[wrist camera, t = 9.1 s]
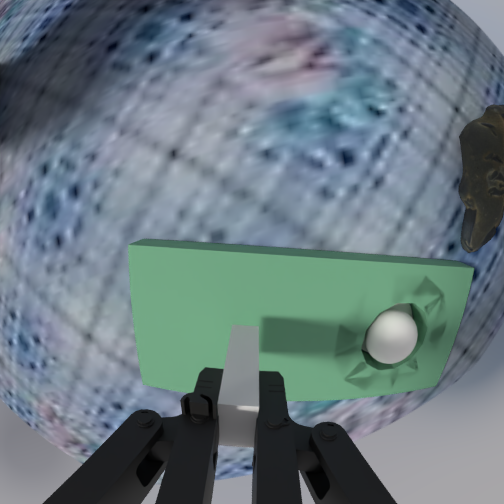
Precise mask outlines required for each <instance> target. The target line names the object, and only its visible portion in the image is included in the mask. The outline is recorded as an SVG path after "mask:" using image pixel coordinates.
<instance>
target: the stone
mask: <svg viewBox="0 0 504 504" xmlns="http://www.w3.org/2000/svg"><path fill="white" fill-rule="evenodd" d="M459 138H460V143H461V152H462V162H463V175H462V178H461V182H460V184H459V195H460V198H461V199H462V201H463V203H464V204H465V206H466V210H465V214H464V220H463V224H462V231H461V244H462V247H463V249H464V250H466V251H467V252H468V253H471V252H475V251H477V250H478V249H480V248H481V247H482V246H483V245H485V244H486V243H487V242H488V241H489V240H491V238H492V237H493V236H494V235H495V233H496V230H495V229H496V227H497V226H499V224H500V222H501V220H502V218H503V213H504V105H490V106H488V107H487V108H486V111H485V113H484V114H483V116H482V117H481V118H479V119H476V120H473V121H472V122H470V123H469V124H467V125H466V127H465V128H464V130H463V131H462V133H461V134H460V136H459Z"/></svg>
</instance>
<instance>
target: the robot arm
mask: <svg viewBox="0 0 504 504" xmlns="http://www.w3.org/2000/svg"><path fill="white" fill-rule="evenodd" d="M180 401H181V408H182V414H181V415H179V416H175V417H164V418H161V417H160V415H159V414H158V413H156V412H155V411H152V410H148V409H145V410H138V411H135V412H134V413H133V414H131V415H130V416H129V417H128V418H127V419H126V420H125V422H124V423H123V424H122V425H121V426H120V427H119V428H118V429H117V430H116V431H115V432H114V433H113V434H112V435H111V436H110V437H109V438H108V439H107V440H106V441H105V442H104V443H103V444H102V445H101V446H100V447H99V448H98V449H97V450H96V451H95V452H94V453H93V454H92V455H91V457H90V458H89V459H88V460H87V461H86V462H85V463H84V464H83V465H82V466H81V467H80V468H79V469H78V470H77V471H76V472H75V473H74V474H73V475H72V476H71V477H70V478H68V479H67V480H66V481H65V482H64V483H63V484H62V485H61V486H60V487H59V488H58V489H57V490H56V491H55V492H54V493H53V494H52V495H51V496H50V497H49V498H48V499H47V500H46V501H45V502H44V503H43V504H141V503H142V501H143V500H144V498H145V497H146V496H147V494H148V493H149V491H150V490H151V489H152V487H153V486H154V484H155V483H156V482H157V480H158V479H159V477H160V476H161V474H162V473H163V472H164V470H165V473H164V476H163V479H162V483H161V486H160V489H159V493H158V497H157V500H156V503H155V504H211V501H212V493H213V486H214V479H215V472H216V465H217V458H218V443H219V445H224V446H236V447H253V448H254V454H253V462H252V466H253V479H252V504H302V497H301V488H300V480H299V471H298V470H300V473H301V475H302V477H303V479H304V481H305V483H306V485H307V487H308V489H309V492H310V494H311V496H312V498H313V500H314V502H315V504H397V503H396V502H395V500H394V499H393V498H392V496H391V495H390V493H389V492H388V491H387V489H386V488H385V487H384V485H383V484H382V483H381V481H380V480H379V478H378V477H377V475H376V474H375V473H374V471H373V470H372V468H371V467H370V466H369V464H368V463H367V461H366V460H365V459H364V457H363V456H362V455H361V453H360V451H359V450H358V448H357V447H356V446H355V444H354V443H353V441H352V440H351V438H350V437H349V436H348V434H347V433H346V431H345V430H344V429H343V428H342V427H341V426H340V425H338V424H336V423H333V422H322V423H319V424H317V425H316V426H315V427H314V428H311V427H306V426H302V425H299V424H297V423H295V422H294V421H293V420H292V419H291V418H290V417H289V414H288V408H287V400H286V392H285V385H284V378H283V376H282V375H281V374H280V373H279V371H259V326H245V325H232V329H231V334H230V339H229V345H228V350H227V355H226V361H225V366H224V369H219V368H209V367H205V368H204V369H203V370H202V371H201V372H200V373H199V376H198V379H197V382H196V385H195V388H194V392H191V393H188V394H186V395H184V396H183V397H182V399H181V400H180Z"/></svg>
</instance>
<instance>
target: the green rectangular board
mask: <svg viewBox="0 0 504 504" xmlns="http://www.w3.org/2000/svg"><path fill="white" fill-rule="evenodd" d="M128 253H129V276H130V291H131V303H132V313H133V323H134V331H135V339H136V346H137V353H138V359H139V365H140V371H141V376H142V382H143V385H148V386H152V387H157V388H162V389H168V390H173V391H179V392H185V393H191V392H194V388H195V385H196V382H197V379H198V376H199V373H200V372H201V371H202V370H203V369H204V368H205V367H209V368H219V369H224V366H225V361H226V355H227V350H228V345H229V339H230V334H231V329H232V325H245V326H259V371H279V373H280V374H281V375H282V376H283V378H284V385H285V392H286V400H287V401H324V400H342V399H355V398H365V397H374V396H382V395H390V394H397V393H403V392H409V391H414V390H420V389H425V388H429V387H434V386H436V385H437V383H438V381H439V378H440V376H441V374H442V371H443V369H444V367H445V364H446V362H447V359H448V357H449V354H450V352H451V349H452V346H453V344H454V341H455V338H456V335H457V332H458V329H459V326H460V323H461V320H462V316H463V313H464V309H465V306H466V302H467V298H468V294H469V290H470V286H471V282H472V277H473V272H474V268H473V267H470V266H468V265H466V264H463V263H461V262H458V261H451V260H439V259H427V258H414V257H401V256H388V255H375V254H362V253H348V252H335V251H321V250H307V249H293V248H279V247H264V246H249V245H234V244H219V243H204V242H188V241H172V240H156V239H142V240H139V241H137V242H134V243H132V244H129V245H128ZM409 303H410V304H411V306H410V304H409ZM411 308H412V309H411ZM389 309H398V310H402V311H404V312H406V313H407V314H409V315H410V316H411V317H412V312H413V317H412V319H413V320H414V322H415V324H416V327H417V333H418V336H417V342H416V345H415V347H414V349H413V351H412V352H411V353H410V355H409V356H407V357H406V358H405V359H404V360H402V361H400V362H397V363H393V364H386V363H381V362H379V361H377V360H375V359H374V358H373V357H372V356H371V355H370V354H367V353H366V352H368V350H367V347H366V343H365V334H366V330H367V329H368V327H369V326H370V325H371V324H372V322H373V321H374V320H375V318H376V317H377V316H378V315H379V313H381V312H383V311H385V310H389ZM361 349H363V350H364V351H366V352H364V351H362V350H361ZM368 353H369V352H368Z"/></svg>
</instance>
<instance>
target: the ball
mask: <svg viewBox="0 0 504 504" xmlns="http://www.w3.org/2000/svg"><path fill="white" fill-rule="evenodd" d="M417 336H418V333H417V327H416V324H415V322H414V320H413V319H412V317H411V316H410V315H409V314H407V313H406V312H404V311H402V310H398V309H389V310H385V311H383V312H381V313H379V315H378V316H377V317H376V318H375V320H374V321H373V322H372V324H371V325H370V326H369V327H368V329H367V330H366V334H365V343H366V347H367V350H368V352H369V353H370V355H371V356H372V357H373V358H374V359H375V360H377V361H379V362H381V363H386V364H393V363H397V362H400V361H402V360H404V359H405V358H406V357H407V356H409V355H410V353H411V352H412V351H413V349H414V347H415V345H416V342H417Z"/></svg>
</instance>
